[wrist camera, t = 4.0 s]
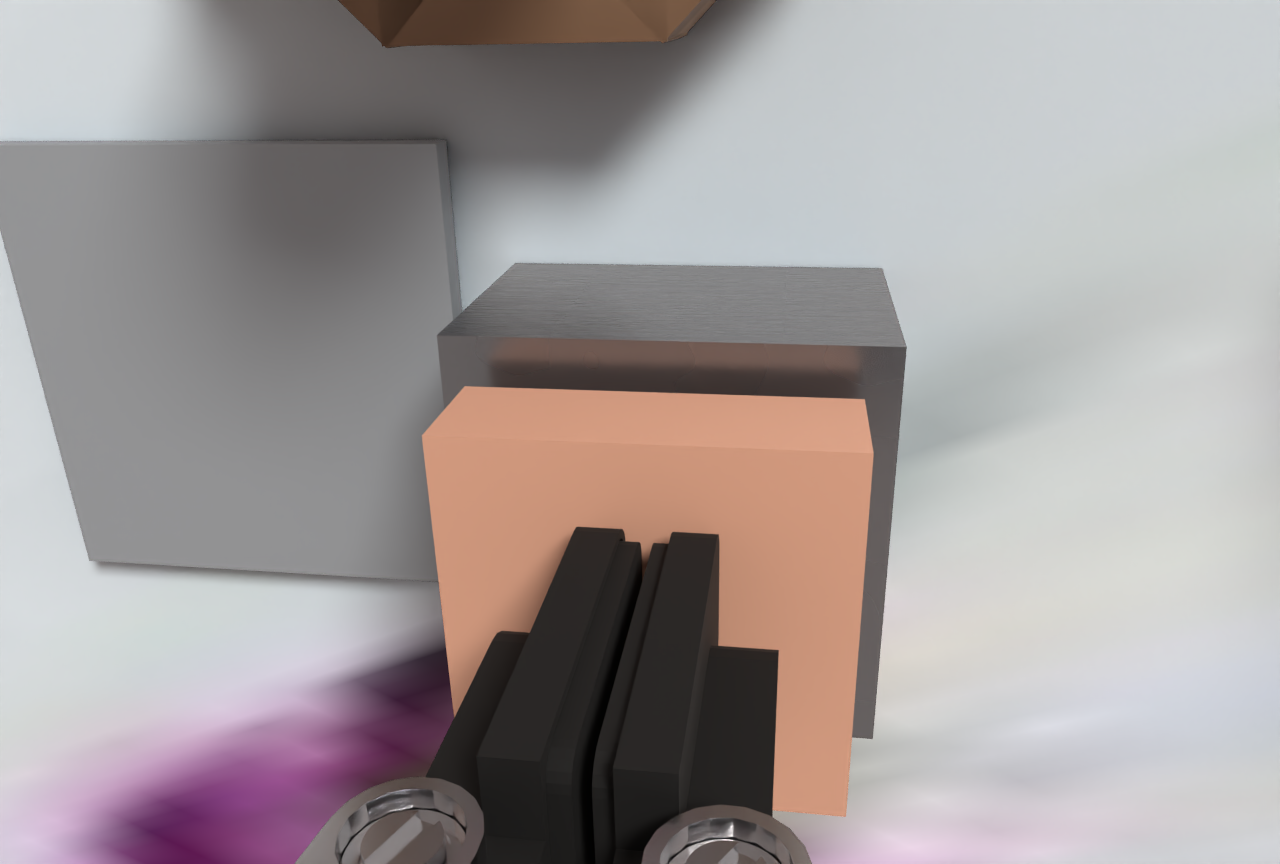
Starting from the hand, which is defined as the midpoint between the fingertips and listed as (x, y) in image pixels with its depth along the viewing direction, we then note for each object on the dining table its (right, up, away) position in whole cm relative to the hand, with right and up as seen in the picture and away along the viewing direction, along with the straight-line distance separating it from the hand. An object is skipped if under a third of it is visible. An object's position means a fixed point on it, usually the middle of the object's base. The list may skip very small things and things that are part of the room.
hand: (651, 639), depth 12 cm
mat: (-7, +4, +6) cm, 10 cm away
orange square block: (+1, +2, +5) cm, 5 cm away
